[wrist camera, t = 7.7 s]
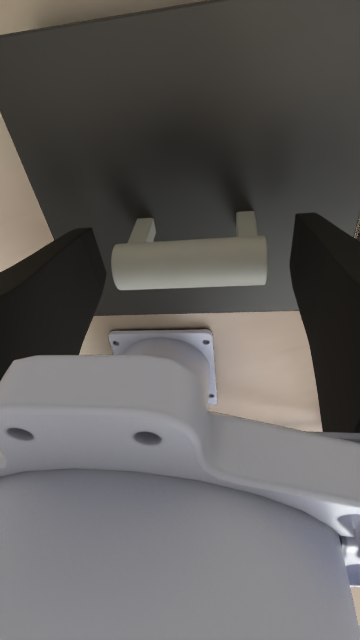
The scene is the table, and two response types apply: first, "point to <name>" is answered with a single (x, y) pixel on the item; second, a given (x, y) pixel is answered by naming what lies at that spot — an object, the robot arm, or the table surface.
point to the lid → (191, 143)
